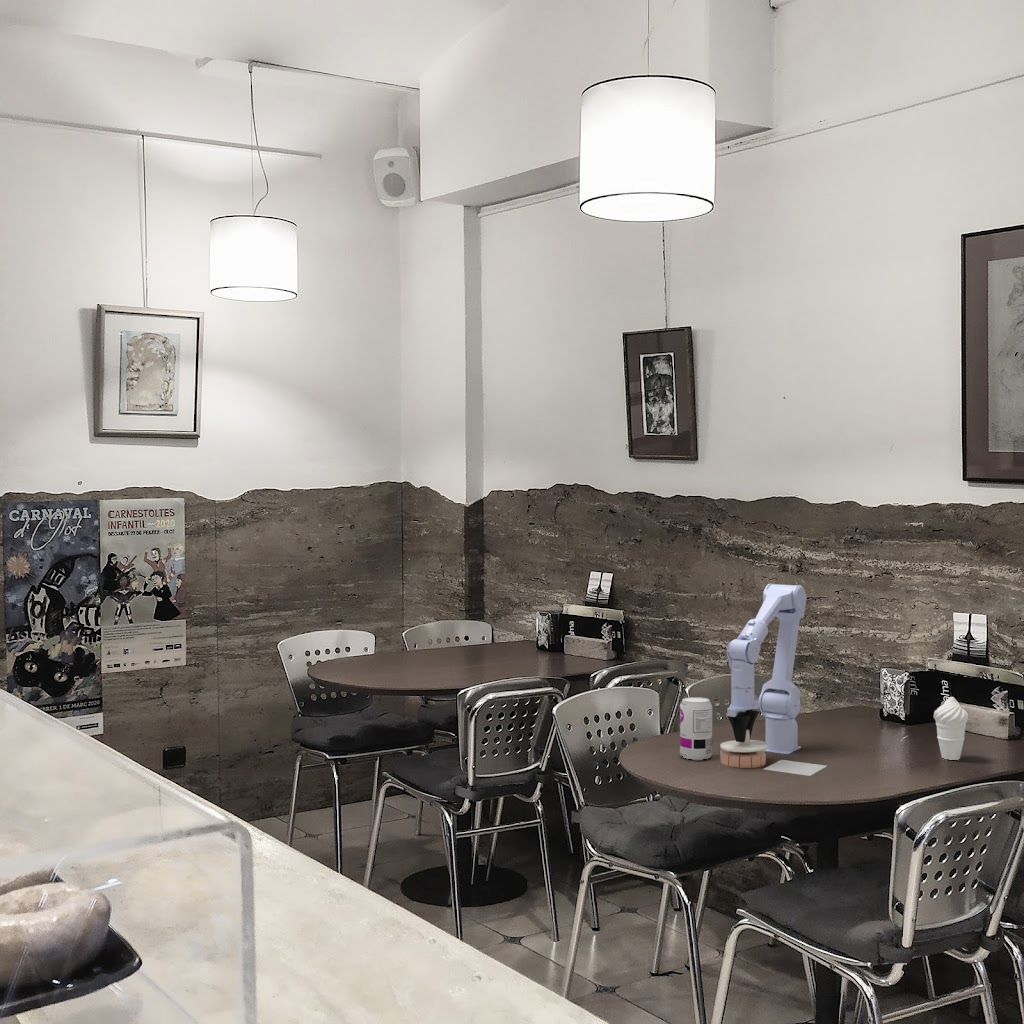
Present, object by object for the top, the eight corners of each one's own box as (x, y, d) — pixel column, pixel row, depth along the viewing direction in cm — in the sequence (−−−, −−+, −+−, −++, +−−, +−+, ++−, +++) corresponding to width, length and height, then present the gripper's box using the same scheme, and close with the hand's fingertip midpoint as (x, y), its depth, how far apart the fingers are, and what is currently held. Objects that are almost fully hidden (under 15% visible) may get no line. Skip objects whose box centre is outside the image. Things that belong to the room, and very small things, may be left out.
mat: (781, 761, 295) (781, 759, 295) (827, 767, 288) (827, 765, 288) (762, 770, 285) (762, 769, 285) (809, 777, 279) (809, 775, 278)
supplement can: (677, 759, 298) (676, 701, 298) (684, 752, 305) (684, 696, 305) (708, 762, 295) (708, 703, 295) (715, 755, 302) (714, 697, 302)
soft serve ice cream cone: (960, 764, 291) (960, 701, 290) (927, 759, 296) (928, 697, 296) (973, 758, 297) (973, 696, 296) (941, 753, 302) (941, 692, 302)
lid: (732, 741, 301) (731, 724, 301) (776, 744, 294) (775, 727, 294) (712, 750, 291) (711, 732, 291) (757, 753, 284) (756, 735, 284)
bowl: (731, 756, 300) (731, 745, 300) (772, 762, 294) (772, 750, 294) (713, 765, 291) (713, 753, 291) (754, 771, 285) (754, 759, 285)
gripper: (745, 692, 284) (746, 747, 284) (769, 684, 296) (769, 737, 296) (719, 690, 288) (719, 744, 288) (743, 681, 300) (743, 734, 300)
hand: (742, 740), depth 293 cm, fingers closed on lid, 3 cm apart
